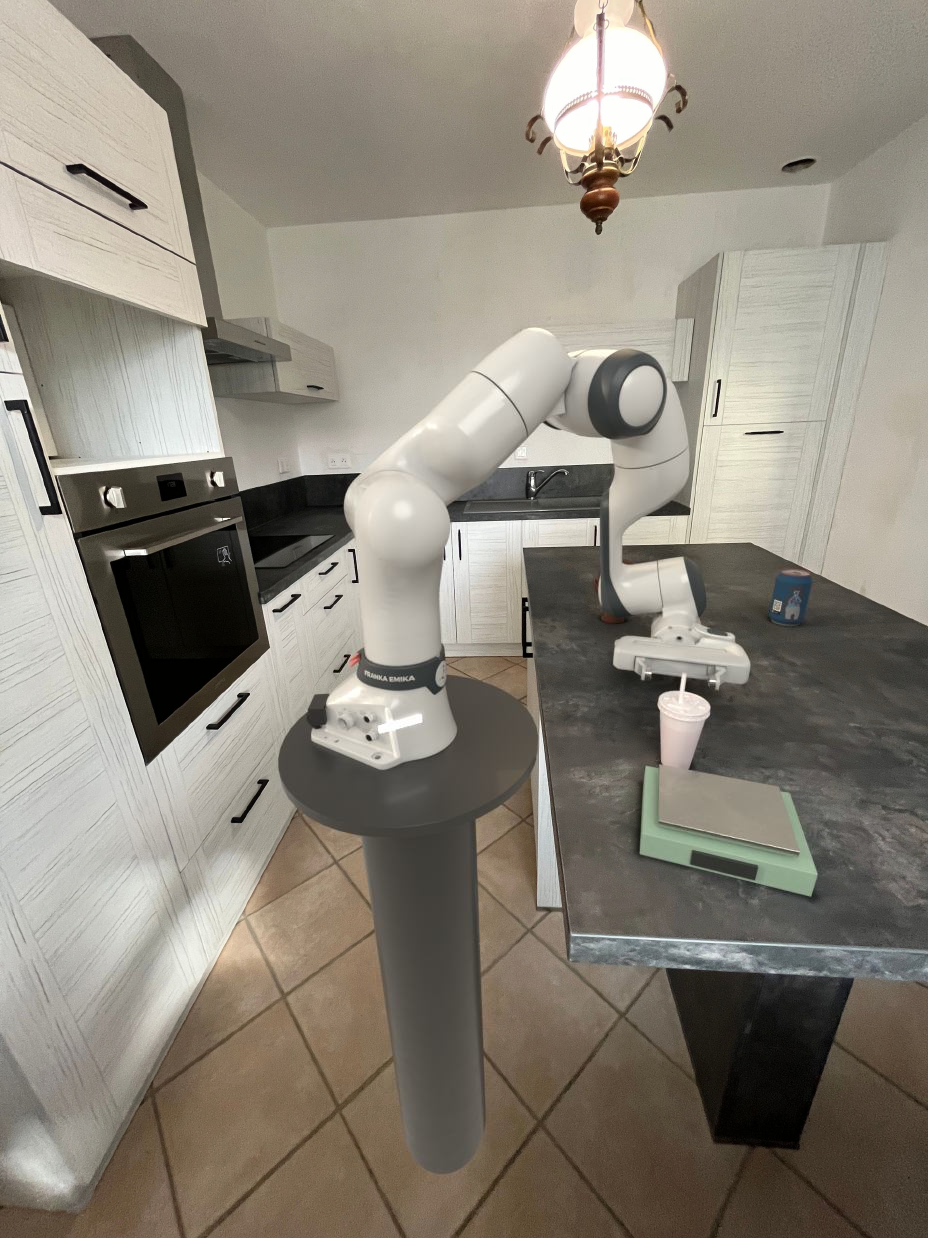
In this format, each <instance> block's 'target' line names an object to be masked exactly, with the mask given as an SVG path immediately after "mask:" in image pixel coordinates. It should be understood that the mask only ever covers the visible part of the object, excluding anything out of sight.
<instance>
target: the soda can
mask: <svg viewBox="0 0 928 1238" xmlns="http://www.w3.org/2000/svg"><path fill="white" fill-rule="evenodd" d="M811 575H812V573H811V572H810V571H808V570H804V569H799V568H783V569H781V570H780V571H779V574H777V576H776V577H775V582H774V587H773V591H772V596H771V601H770V605H769V611H768V617H769V619H770V621H771V622H772V623H774V624H777V625H780V626H784V627H785V626H786V627H796V626H798V625H800V624H801V623H802V622H803V621H804V620H805V616H806V612H807V607H808V603H809V599H810V594H811V589H812V586H813V585H812V584H813V579H812V576H811Z"/></svg>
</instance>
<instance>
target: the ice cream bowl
mask: <svg viewBox="0 0 928 1238" xmlns="http://www.w3.org/2000/svg"><path fill="white" fill-rule="evenodd" d="M622 563H623V564H626V565H633V564H634V562H632V561H631V560H629V559H626V558H622ZM600 575H601V571H599V572H597V577H595V578H593V579H592V580H591V583H592V588H593V590H594V593H595V594H596V596H597V597H598V598H599V596H598V587H599V580H600ZM600 619H601V621H602V622H604V623H607V624H608V623H609V624H622V623H623V622H624V621H625V619H626V618H620V619H617V618H615V617H613V616H611V615H610V614H608V613H607V612H605V613H604V614H603V615H602V616H601V617H600Z"/></svg>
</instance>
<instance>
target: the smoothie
mask: <svg viewBox="0 0 928 1238" xmlns="http://www.w3.org/2000/svg"><path fill="white" fill-rule="evenodd" d="M686 677H687V673H682V677H680V678H681V679H680V685H679V690H670V691H665V692H663V693H661V694H660V695H659V696H658V701H657V707H658V709H659V727H660V728H659V729H660V731H659V732H660V761H661V765H666V766H671V767H676V768H682V769H687V770H690V767H691V763H692V761H693V758H694V755H695V752H696V750H697V746H698V743H699V741H700V737H701V735H702V734H701V733H702V731H703V728H704V726H705V722H706V720H707V719H708V718H709V717H710V715H711V705H710V703H709V701H708V700H706V699H705V698H704V697H702V696H700V695H698V694H695V693H692V692H688V691H686V683H687V678H686Z"/></svg>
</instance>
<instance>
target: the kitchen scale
mask: <svg viewBox="0 0 928 1238" xmlns="http://www.w3.org/2000/svg"><path fill="white" fill-rule="evenodd" d="M644 768H645V769H644V775H643V785H642V803H641V822H640V823H641V824H640V841H639V854H640V855H641V856H645V857H648V858H649V857H650V858H653V859H656V860H662V861H666V862H669V863H674V864H678V865H681V866H685V867H689V868H693V869H697V870H702V871H706V872H710V873H715V874H716V875H717V874H718V875H722V876H726V877H730V878H734V879H737V880H738V879H739V880H742V881H745V882H750V883H754V884H758V885H763V886H765V887H766V886H767V887H771V888H774V889H778V890H782V891H785V892H786V891H787V892H790V893H793V894H797V895H803V896H806V897H809V898H810V897H812V895H813V891H814V889H815V886H816V882H817V879H818V875H819V873H818V871H817V868H816V865H815V862H814V860H813V857H812V856H813V855H812V854H811V850H810V847H809V844H808V842H807V839H806V836H805V834H804V830H803V828H802V825H801V824H802V823H801V822H800V818H799V816H798V813H797V809H796V807H795V803H794V801H793V797H792V796H791V793H790V792H788V791H787V792H786V791H781V790H780V791H781V794H782V797H783V801H784V804H785V807H786V810H787V813H788V816H789V819H790V822H791V825H792V828H793V832H794V835H795V838H796V841H797V844H798V847H799V850H800V854H799V858H796V857H792V856H787V855H783V854H779V853H774V852H770V851H765V850H761V849H757V848H752V847H748V846H743V845H739V844H735V843H730V842H726V841H721V840H717V839H713V838H708V837H704V836H699V835H695V834H691V833H686V832H682V831H677V830H673V829H669V828H664V827H660V826H658V771H659V767H654V766H648V765H645V767H644Z"/></svg>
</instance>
